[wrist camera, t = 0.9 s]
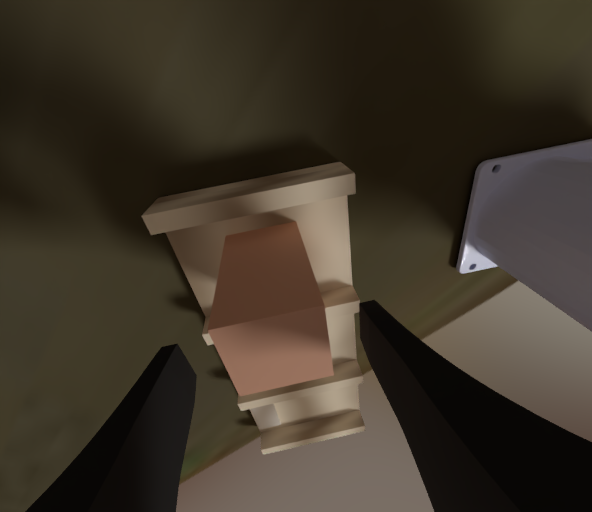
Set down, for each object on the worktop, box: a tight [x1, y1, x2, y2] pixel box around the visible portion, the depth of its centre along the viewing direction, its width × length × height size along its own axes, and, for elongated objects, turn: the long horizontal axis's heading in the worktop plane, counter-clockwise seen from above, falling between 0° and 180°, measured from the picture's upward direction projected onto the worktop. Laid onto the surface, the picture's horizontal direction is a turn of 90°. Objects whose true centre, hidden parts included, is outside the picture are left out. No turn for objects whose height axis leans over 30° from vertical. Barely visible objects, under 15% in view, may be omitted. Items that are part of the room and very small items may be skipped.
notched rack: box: [142, 162, 365, 454], centre depth 20 cm, size 10×25×2 cm, turn 9°
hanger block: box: [207, 221, 334, 396], centre depth 13 cm, size 4×4×7 cm
